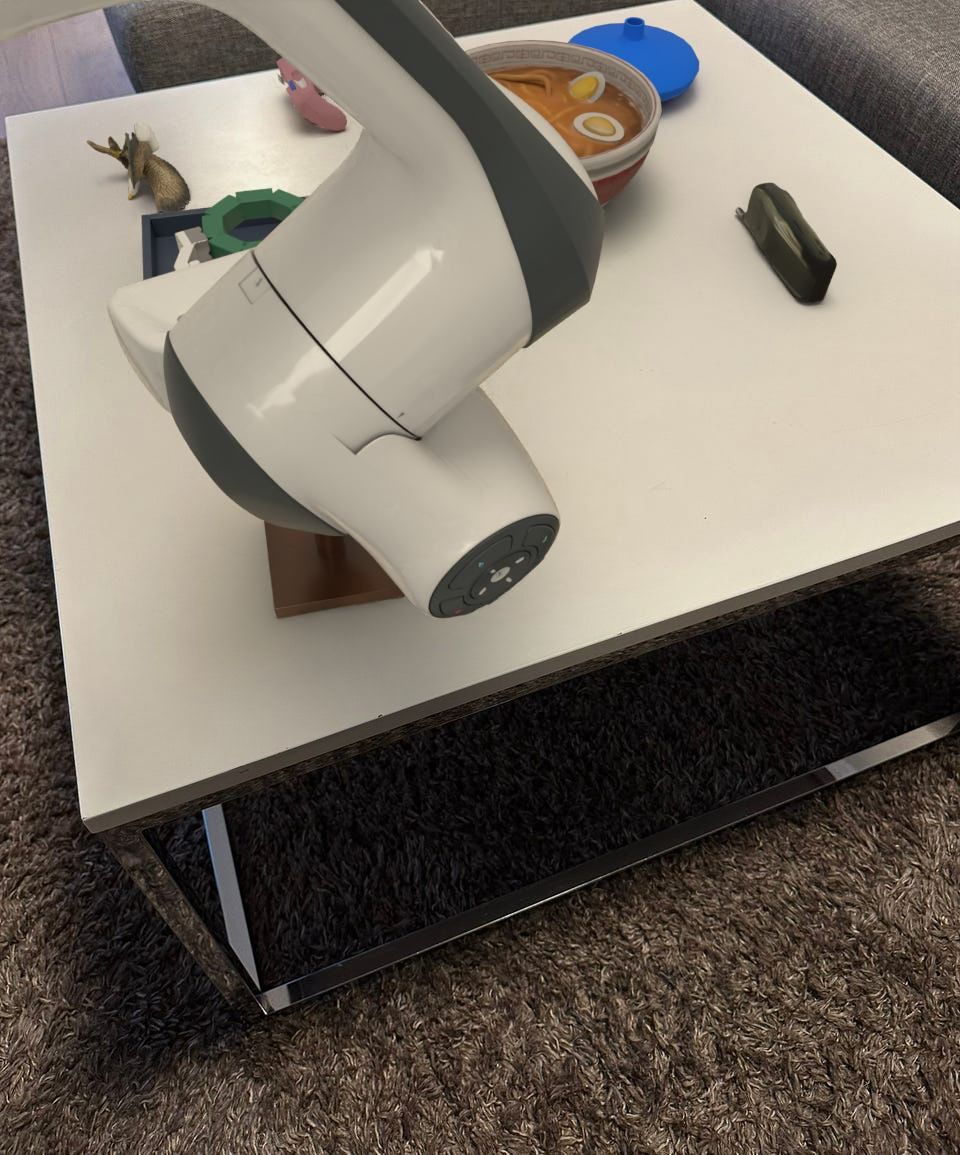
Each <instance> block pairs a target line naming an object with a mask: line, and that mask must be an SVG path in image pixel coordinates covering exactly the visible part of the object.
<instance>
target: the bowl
mask: <svg viewBox="0 0 960 1155" xmlns="http://www.w3.org/2000/svg"><path fill="white" fill-rule="evenodd" d="M464 51H465V52H466V54H467V55H468V56H469V57H470V58H471V59H472V60H473V61H474V62H475V63H476V64H477V66H478V67H479V68H480V69H481V70H482V71H483V72H484V73H485V74H487V75H488V76H490V77H491V78H492V79H494V80H495V81H497V82H498V83H500V84H501V85H502V86H504V87H505V88H507V89H508V90H510V91H511V92H512V93H514V94H515V95H517V96H518V97H519V98H521V99H522V100H523V101H524V102H526V103H527V104H528V105H529V106H531V107H532V108H533V109H534V110H535V111H536V112H538V113H539V114H540V115H541V116H542V117H543V118H544V119H545V120H546V121H547V122H548V123H549V124H550V125H551V126H552V127H553V128H554V129H555V130H556V131H557V132H558V133H559V134H560V135H561V137H562V138H563V139H564V140H565V141H566V143H567V144H568V145H569V146H570V148H571V149H572V150H573V152H574V153H575V154H576V156H577V157H578V159H579V160H580V162H581V164H582V165H583V167H584V168H585V170H586V172H587V174H588V176H589V178H590V180H591V182H592V184H593V186H594V189H595V192H596V194H597V198H598V201H599V203H600V205H601V206H602V208H603V207H604V206H605V205H607V204H608V203H610V202H611V201H612V200H614V199H615V197H617V196H618V195H620V193H622V192H623V191H624V190H625V188H626V187H627V186H628V185H629V184H630V182H631V181H632V180H633V179H634V177H635V176H636V175H637V173H638V171H640V169H641V167H642V166H643V165H644V163H645V161H646V159H647V157H648V154H649V153H650V150H651V147H652V146H653V145H654V143H655V139H656V135H657V131H658V128H659V125H660V122H661V116H662V113H663V110H662V109H663V108H662V101H661V100H660V97H659V94H658V92H657V90H656V88H655V86H654V85H653V84H652V83H651V81H650V80H649V79H648V78H647V77H646V76H645V75H644V74H643V73H642V72H641V71H639V70H638V69H637V68H635V67H634V66H632V65H631V64H630V63H628V62H626V61H624V60H622V59H620V58H618V57H616V56H614V55H611V54H608V53H606V52H603V51H600V50H597V49H594V48H590V47H586V46H582V45H577V44H573V43H568V42H564V41H558V40H557V41H556V40H542V39H523V40H520V39H519V40H507V41H501V42H493V43H487V44H484V45H479V46H476V47H473V48H469V49H466V50H464Z"/></svg>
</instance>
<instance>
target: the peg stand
mask: <svg viewBox="0 0 960 1155" xmlns="http://www.w3.org/2000/svg"><path fill="white" fill-rule="evenodd" d="M263 526H264V536H265V541H266V543H265V545H266V551H267V559H268V569H269V576H270V577H269V578H270V585H271V593H272V602H273V610H274V614H275V616H276V619H285V618H289V617H295V616H301V615H306V614H311V613H317V612H323V611H329V610H333V609H335V610H336V609H340V608H346V607H351V606H358V605H363V604H368V603H374V602H379V601H386V600H392V599H398V598H403V597H405V594H404V593H403V592H402V591H401V590H400V588H399V587H398V586H397V585H396V584H395V582H394V581H393V580H392V579H391V578H390V577H389V575H388V574H387V573H386V572H385V571H384V570H383V568H382V567H381V566H380V565H379V564H378V563H377V561H376V560H375V559H374V558H373V557H372V556H371V555H370V554H369V553H368V552H367V551H366V550H365V549H364V548H363V547H362V546H361V545H360V544H359V543H358V542H357V541H356V540H355V539H354V538H353V537H352V536H350V535H349V534H348V535H347V536H330V535H322V534H316V533H311V532H305V531H301V530H296V529H290V528H285V527H280V526H276V525H273V524H271V523H268V522H265V521H263Z"/></svg>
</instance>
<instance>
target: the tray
mask: <svg viewBox="0 0 960 1155" xmlns="http://www.w3.org/2000/svg"><path fill="white" fill-rule="evenodd" d="M306 196H307V195H304V196H299V197H300V198H303V199H305V197H306ZM211 207H212V206H208V207H201V208H200V207H199V208H192V209H181V210H180V211H173V212H156V213H150V214H141V251H142V252H141V253H142V281H143V280H146V279H150V278H153V277H157V276H160V275H163V274H167V273H170V272H173V271H175V268H174V265H175V262H176V260H177V257H178V255H179V252H180V251H179V248H178V244H177V241H176V237H175V233H177V232H181V231H184V230H188V229H192V228H196V227H200V228H201V229H202V233H203V226H202V216H205V211H206V210H208V209H209V208H211ZM282 222H283V221H282V220H279V219H277V218H274V217H266V218H258V219H249V220H244V221H243V222H241V223H240V224H238V225H237V226H236V227H234V228H233V229H232V230H230V231H229V232H228V233H226V234H228V235H230V236H232V237H234V238H237V239H239V240H241V241H244V242H253V241H262V240H264V239H265V238H266V237H267V236H268V235H269V234H270V233H271V232H272V231H273V230H274V229H275V228H276V227H277V226H278V225H279V224H280V223H282Z"/></svg>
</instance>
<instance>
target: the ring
mask: <svg viewBox="0 0 960 1155" xmlns="http://www.w3.org/2000/svg"><path fill="white" fill-rule="evenodd" d="M234 193H235V196H234V195H231V194H227V195H226V196H224V197H223V198H221V199H220V200H219V201H217V202H216V203H215V204H213V205H211V206H210V207H211V208H209V209H208V210H206V211H205V216H202V226H203V233H204V234H205V236H206V237H207V239H208V242H209V246H210V254H211V255H212V258H213V260H214V259H217V258H220V257H224V256H227V255H230V254H234V253H237V252H240V251H244V250H247V249H251V248H254V247H257V246H258V245H259V244H260V243H261V242H262V241H263V240H262V241H253V242H244V241H241V240H239V239H237V238H234V237H232V236H230V235H228V234H226V233H228V232H229V231H230V230H232V229H233V228H234V227H236V226H237V225H238V224H240V223H241V222H243V221H244V220H249V219H258V218H266V217H274V218H277V219H279V220H282V221H284V220H285V219H286V218H287V217H288V216H289V215H290V214H291V213H292V212H293V211H294V210H295V209H296V208H297V207H298V206H299V205H300V204H301V203H302V202H303V201H304V200H305V199H303V198H300V197H301V196H297V195H295V194H293V193H290V192H288V191H285V190H282V189H280V188H278V189H277V190H275V191H274V190H273V188H272V187H268V188H260V189H258V188H257V189H249V190H242V191H241V190H239V191H235V192H234Z"/></svg>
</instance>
